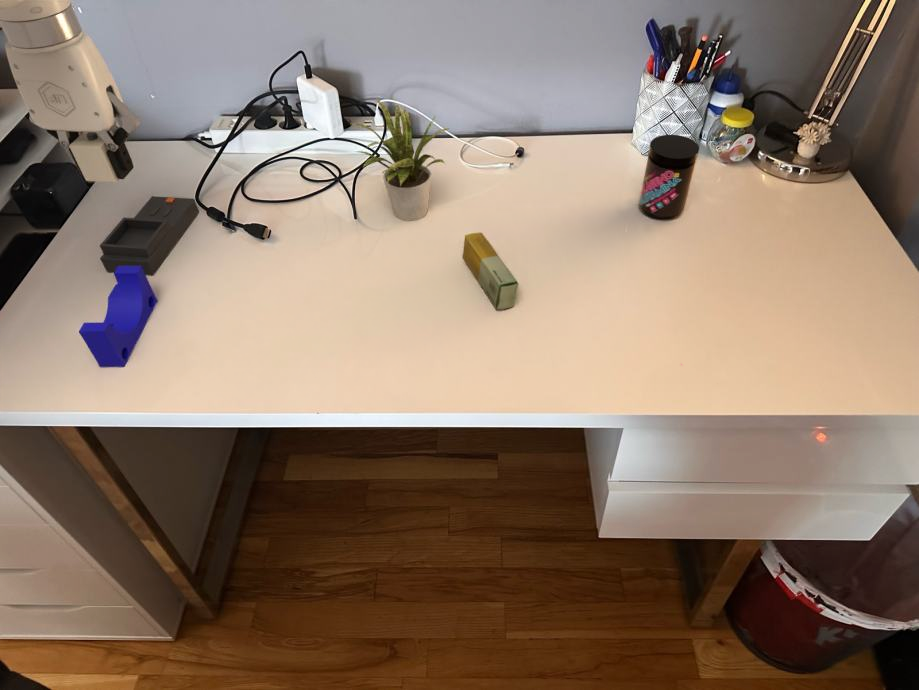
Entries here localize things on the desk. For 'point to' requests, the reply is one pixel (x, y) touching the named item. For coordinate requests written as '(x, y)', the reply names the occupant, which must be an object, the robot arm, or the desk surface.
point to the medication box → (490, 271)
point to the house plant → (404, 167)
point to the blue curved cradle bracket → (121, 318)
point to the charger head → (93, 157)
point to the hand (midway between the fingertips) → (108, 171)
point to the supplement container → (668, 176)
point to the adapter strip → (148, 234)
